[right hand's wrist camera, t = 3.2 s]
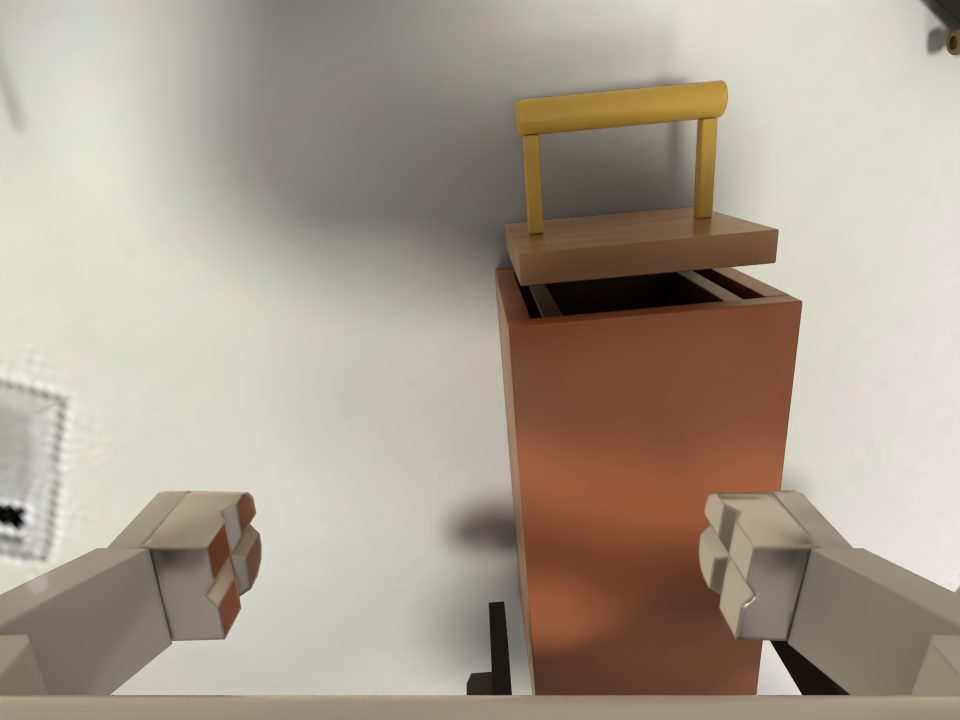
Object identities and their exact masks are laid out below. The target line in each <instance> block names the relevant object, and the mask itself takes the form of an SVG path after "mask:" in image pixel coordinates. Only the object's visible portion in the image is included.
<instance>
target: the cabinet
mask: <svg viewBox="0 0 960 720" xmlns="http://www.w3.org/2000/svg"><path fill="white" fill-rule="evenodd" d="M692 271H694V272H696V273H697V274H699V275H701V276H703V277H704V278H706V279H708V280H710V281H712V282H713V283H715V284H717V285H719V286H720V287H722V288H724V289H726V290H727V291H729V292H731V293H733V294H735V295H736V296H738V297H740V298H742V299H743V300H732V301H721V302H710V303H699V304H688V305H677V306H666V307H655V308H644V309H633V310H622V311H611V312H600V313H589V314H578V315H567V316H556V317H545V318H535V319H530V316H529V313H528V311H527V307H526V290H525V286H521V285H520V282H519V280H518V277H517V275H516V272H515V270H514V268H512V269H502V270H495V279H496V291H497V304H498V316H499V329H500V342H501V354H502V367H503V379H504V392H505V405H506V417H507V430H508V442H509V455H510V468H511V480H512V493H513V505H514V518H515V531H516V543H517V556H518V568H519V581H520V594H521V604H522V612H523V621H524V629H525V637H526V645H527V653H528V662H529V670H530V678H531V686H532V694H533V695H756V692H757V684H758V675H759V667H760V658H761V650H762V641H763V640H740V639H735V638H734V636H733V634H732V632H731V630H730V628H729V627H728V625H727V623H726V621H725V619H724V617H723V615H722V613H721V611H720V609H719V604H720V598H721V597H720V596H719V595H717V594H716V593H715V592H713V591H712V590H710V589H709V588H708V586H707V584H706V582H705V580H704V578H703V575H702V572H701V568H700V564H699V553H698V548H699V540H700V534H701V533H702V532H703V531H704V530H705V529H706V528H707V527H708V526H709V525H710V523H709V521H708V519H707V518H706V516H705V514H704V508H705V503H706V499H707V497H708V495H709V493H739V492H768V491H780V488H781V480H782V471H783V463H784V454H785V446H786V437H787V429H788V420H789V412H790V403H791V395H792V386H793V378H794V369H795V361H796V352H797V344H798V335H799V327H800V318H801V310H802V301H801V300H799V299H796V298H794V297H792V296H790V295H789V294H786V293H784V292H782V291H780V290H778V289H776V288H774V287H772V286H769V285H767V284H765V283H763V282H761V281H759V280H757V279H754V278H752V277H750V276H748V275H746V274H744V273H742V272H740V271H737V270H735V269H733V268H731V267H725V268H714V269H703V270H692Z"/></svg>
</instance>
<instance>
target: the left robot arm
mask: <svg viewBox="0 0 960 720" xmlns="http://www.w3.org/2000/svg"><path fill="white" fill-rule="evenodd" d="M489 615H490V638H491V662H492V672H484V673H471V675H470V678H469V680H468V682H467V695H512V691H511V677H510V664H509V651H508V639H507V628H506V617H505V606H504V602H492V603H489ZM770 642H771V643H772V645H773V647H774V648H775V650H776V652H777V653H778V655H779V657H780V658H781V660H782V662H783V663H784V665H785V667H786V668H787V670H788V672H789V673H790V675H791V677H792V679H793V680H794V682H795V684H796V685H797V687H798V689H799V690H800V692H801V694H802V695H850V694H849V693H848V692H846V691H845V690H844V689H843V688H842V687H840V686H839V685H838V684H837V683H835V682H834V681H833V680H832V679H831V678H829V677H828V676H827V675H826V674H825V673H823V672H822V671H821V670H820V669H818V668H817V667H816V666H815V665H814V664H812V663H811V662H810V661H809V660H808V659H806V658H805V657H804V656H803V655H801V654H800V653H799V652H798V651H797V650H795V649H794V648H793V647H792V646H790V645H789V644H788V641H776V640H770Z"/></svg>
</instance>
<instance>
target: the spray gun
mask: <svg viewBox="0 0 960 720" xmlns="http://www.w3.org/2000/svg"><path fill="white" fill-rule="evenodd" d="M938 1H939V2H940V3H941V4H942V5H943V6H944V7H945V8H946V9H947V10H948V11H949V12H950V13H951V14H952V15H953V16H954V17H955V18H956V19H957V20H958V21H959V22H960V0H938ZM946 44H947V50H948V52H949V53H950V54H952V55H957V54H960V28H959V29H957V30H954V31H952V32H951V33H950V35H949V36H948V39H947V43H946Z"/></svg>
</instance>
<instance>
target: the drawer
mask: <svg viewBox="0 0 960 720" xmlns="http://www.w3.org/2000/svg"><path fill="white" fill-rule="evenodd" d="M727 100H728V90H727V86H726V83H725V82H724V81H722V80H721V81H710V82H699V83H689V84H678V85H668V86H657V87H647V88H636V89H626V90H615V91H604V92H594V93H583V94H573V95H562V96H552V97H541V98H530V99H520V100H516V106H515V112H516V127H517V134H518V136H523V152H524V169H525V187H526V204H527V222H518V223H507V224H505V225H504V226H505V240H506V249H507V251H508V254H509V257H510V259H511V262H512V264H513V267H514V270H515V272H516V275H517V277H518V280H519V282H520V285H521V286H525V290H526V307H527V311H528V313H529V316H530V319H535V318H545V317H556V316H567V315H578V314H589V313H600V312H611V311H622V310H633V309H644V308H655V307H666V306H677V305H688V304H699V303H710V302H721V301H732V300H743V299H742V298H740V297H738V296H736V295H735V294H733V293H731V292H729V291H727V290H726V289H724V288H722V287H720V286H719V285H717V284H715V283H713V282H712V281H710V280H708V279H706V278H704V277H703V276H701V275H699V274H697V273H696V272H694V271H692V270H703V269H714V268H725V267H736V266H747V265H757V264H768V263H775V262H776V252H777V241H778V229H775V228H771V227H767V226H764V225H760V224H757V223H753V222H749V221H746V220H742V219H739V218H735V217H731V216H728V215H724V214H721V213H717V212H713V211H712V205H713V187H714V170H715V152H716V134H717V118H718V117H721V116H722V115H723V114H724V112H725V109H726V106H727ZM697 119H699V120H698V124H697V146H696V169H695V191H694V206H691V207H680V208H669V209H658V210H647V211H637V212H626V213H615V214H604V215H594V216H583V217H572V218H561V219H550V220H543V209H542V188H541V167H540V146H539V135H537V134H548V133H559V132H569V131H580V130H590V129H601V128H612V127H622V126H633V125H644V124H654V123H665V122H675V121H686V120H697Z"/></svg>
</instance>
